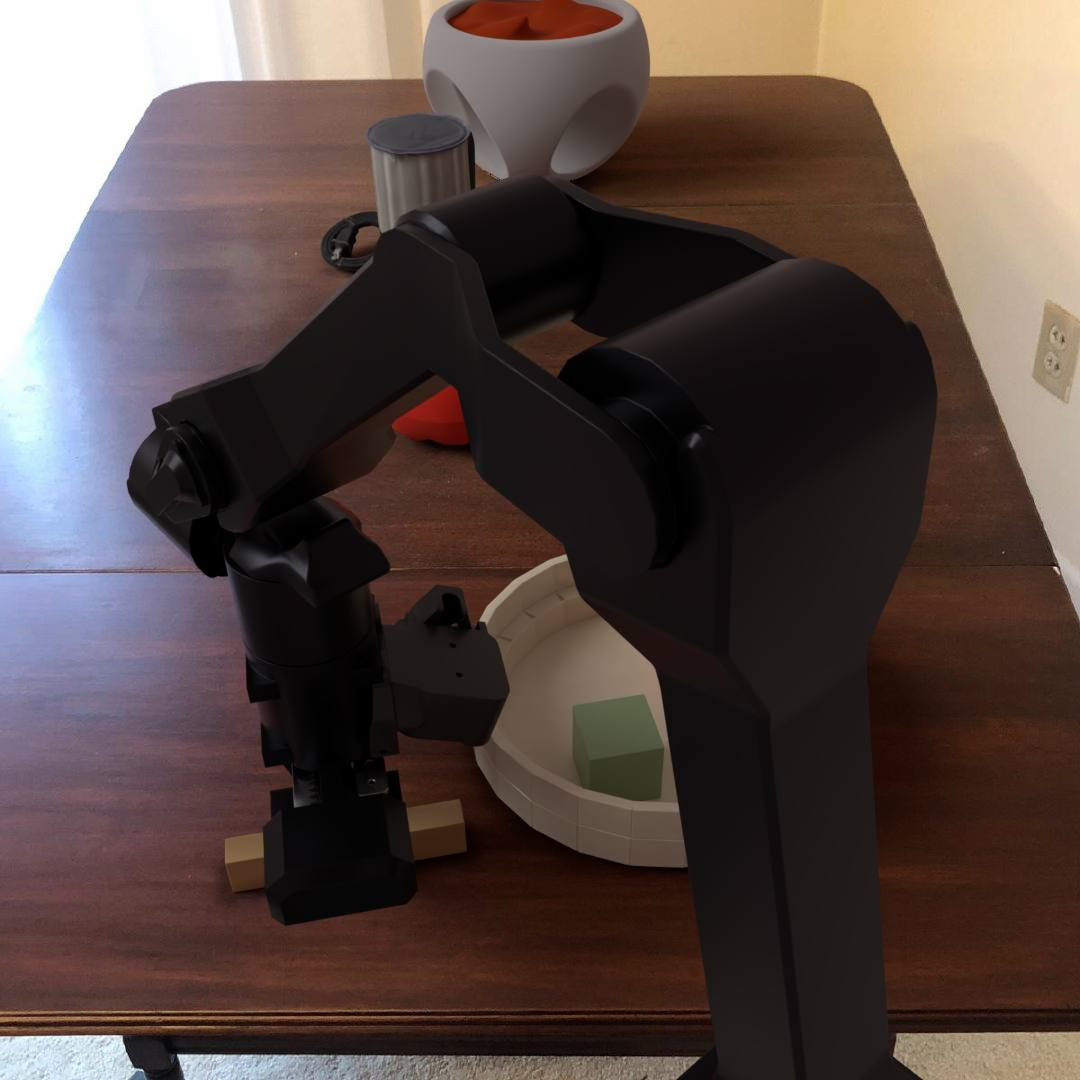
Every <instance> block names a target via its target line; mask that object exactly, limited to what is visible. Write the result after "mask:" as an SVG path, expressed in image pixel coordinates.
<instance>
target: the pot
mask: <svg viewBox="0 0 1080 1080" xmlns="http://www.w3.org/2000/svg"><path fill="white" fill-rule="evenodd" d="M423 42H424V43H423V49H422V59H421V60H422V61H421V63H422V64H421V66H422V68H421V69H422V81H423V88H424V92H425V95H426V98H427V100H428V103H429V105H430V107H431V109H432V111H433V113H437V114H442V115H452V116H454V117H457V118H458V119H461V120H463V121H465V122H466V123H467V124H468V126H469V127H470V130H471V132H472V134H473V138H474V144H475V165H476V166H478V167H479V168H480V169H481V170H482V171H484V170H485V171H487V172H489V173H491V174H493V175H494V176H496V177H498V178H499V179H500V180H502V179H505V178H508V177H511V176H514V175H517V174H520V173H522V172H524V173H530V174H536V175H541V176H542V177H543V176H546V175H550V176H554V177H558V178H562V179H565V180H567V181H569V182H572V181H575V180H578V179H580V178H582V177H584V176H586V175H589V174H590V173H592V172H593V171H595V170H596V169H598V168H599V167H601V166H602V165H604V164H605V163H606V162H607V161H608V160H609V159H610V158H612V156H614V155H615V154H616V152H618V151H619V149H620V148H621V147H622V146H623V145H624V143H625V142H626V141H627V139H629V137H630V135H631V133H632V132H633V130H634V128H635V126H636V125H637V123H638V120H639V118H640V116H641V115H642V111H643V109H644V107H645V103H646V99H647V95H648V92H649V91H648V90H649V86H650V77H651V76H650V75H651V52H650V46H649V39H648V35H647V30H646V27H645V24H644V22H643V18H642V16H641V14H640V12H639V10H638V8H636V7H635V5H633V4H632V3H630V2H628V1H626V0H452V1H449V2H447V3H445V4H442V6H440V7H439V8H437V9H436V10H435V11H434V13H433V14H431V17H430V20H429V23H428V25H427V28H426V32H425V37H424V41H423ZM485 171H484V172H485ZM487 172H486V173H487ZM489 173H487V174H488V175H489V176H491V177H492V178H494V179H496V180H497V181H499V179H497V178H496V177H494V176H492V175H490V174H489ZM574 179H575V180H574ZM570 180H572V181H570Z"/></svg>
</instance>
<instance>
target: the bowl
mask: <svg viewBox="0 0 1080 1080" xmlns="http://www.w3.org/2000/svg"><path fill="white" fill-rule="evenodd" d="M478 621H482V622H485V623H486V626H487V630H488V634H490V635H491V636H492V637H494V638H495V640H496V641H497V642H498V644H499V648H500V651H501V655H502V659H503V663H504V667H505V671H506V674H507V678H508V682H509V686H510V693H509V695H508V698H507V700H506V702H505V705H504V707H503V709H502V712H501V714H500V716H499V719H498V721H497V723H496V726H495V728H494V730H493V733H492V735H491V737H490V740H489V742H488V743H487V744H485V745H483V746H479V747H472V748H473V753H474V756H475V761H476V764H477V765H478V767H479V768H480V770H481V772H482V773H483V775H484V777H485V778H486V780H487V782H488V783H489V785H490V787H491V788H492V790H493V791H494V793H495V795H496V797H497V798H498V799H500V801H502V802H503V803H504V804H505V805H506V806H507V807H508V808H509V809H510V810H511V811H513V812H514V813H515V814H516V815H517V816H518V817H519V818H520V819H521V820H522V821H524V822H525V823H526V824H527V825H528V826H529V827H530V828H532V829H533V830H535V831H537V832H539V833H541V834H543V835H545V836H547V837H548V838H550V839H553V840H554V841H556V842H557V843H560V844H562V845H564V846H566V847H568V848H570V849H571V850H574V851H575V852H578V853H581V854H584V855H587V856H592V857H596V858H600V859H604V860H607V861H611V862H615V863H618V864H619V863H620V864H622V865H626V866H631V867H655V868H681V869H682V868H683V869H684V868H688V865H687V858H686V852H685V845H684V839H683V832H682V826H681V819H680V813H679V806H678V800H677V793H676V787H675V781H674V774H673V768H672V761H671V755H670V748H669V742H668V735H667V729H666V722H665V716H664V709H663V703H662V697H661V690H660V686H659V681H658V678H657V674H656V671H655V668H654V667H653V665H652V664H651V663H650V662H649V661H648V660H647V659H646V658H645V657H644V656H643V655H642V654H640V653H639V652H638V651H637V650H636V649H635V648H634V647H633V646H632V645H631V644H630V643H629V642H628V641H627V640H625V639H624V638H623V637H622V636H621V635H620V634H619V633H618V632H617V631H616V630H615V629H614V628H613V627H611V626H610V625H609V624H608V623H607V622H606V621H605V620H604V619H603V618H602V617H601V616H600V615H599V614H597V613H596V612H595V611H594V610H593V609H592V608H591V607H590V606H589V605H588V604H587V603H586V602H585V601H584V600H583V599H582V598H581V597H580V595H579V593H578V591H577V588H576V585H575V582H574V579H573V575H572V572H571V569H570V565H569V562H568V559H567V555H566V553H565V554H563V555H559V556H555V557H553V558H550V559H547V560H545V562H542V563H541V564H539V565H537V566H535V567H534V568H532V569H530V570H529V571H527V572H525V573H523V574H521V575H520V576H518V577H517V578H515V579H514V580H512V581H511V582H510V583H509V584H508V585H507V586H506V587H505V588H504V589H503V590H502V591H500V592H499V594H497V596H496V597H494V599H493V600H492V601H491V602H490V603H488V605H487V606H486V607H485V609H484V611H483V613H482V615H481V617H480V619H479V620H478ZM641 694H644V695H645V697H646V700H647V703H648V705H649V708H650V711H651V713H652V716H653V719H654V721H655V724H656V726H657V729H658V732H659V734H660V737H661V740H662V742H663V745H664V762H663V776H662V791H661V798H657V799H651V800H646V801H632V800H628V799H624V798H620V797H616V796H611V795H607V794H603V793H599V792H595V791H591V790H587V789H583V788H582V785H581V782H580V779H579V775H578V772H577V769H576V765H575V762H574V759H573V705H578V704H585V703H591V702H597V701H603V700H610V699H616V698H622V697H628V696H635V695H641Z"/></svg>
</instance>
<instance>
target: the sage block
mask: <svg viewBox="0 0 1080 1080" xmlns="http://www.w3.org/2000/svg"><path fill="white" fill-rule="evenodd" d="M573 759H574V762H575V765H576V769H577V772H578V775H579V779H580V782H581V785H582V788H583V789H587V790H591V791H595V792H599V793H603V794H607V795H611V796H616V797H620V798H624V799H628V800H632V801H646V800H651V799H657V798H661V791H662V776H663V762H664V745H663V742H662V740H661V737H660V734H659V732H658V729H657V726H656V724H655V721H654V719H653V716H652V713H651V711H650V708H649V705H648V703H647V700H646V697H645V695H644V694H641V695H635V696H628V697H622V698H616V699H610V700H603V701H597V702H591V703H585V704H578V705H573Z"/></svg>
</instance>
